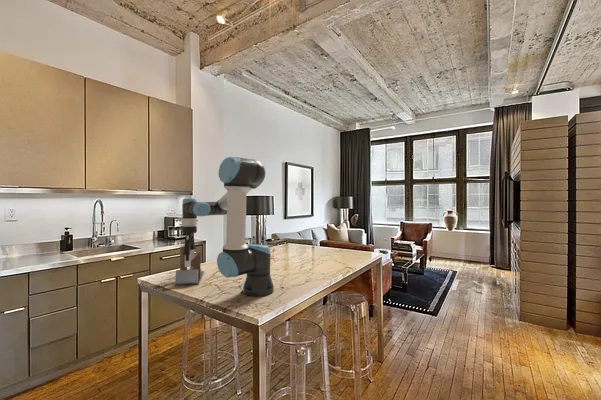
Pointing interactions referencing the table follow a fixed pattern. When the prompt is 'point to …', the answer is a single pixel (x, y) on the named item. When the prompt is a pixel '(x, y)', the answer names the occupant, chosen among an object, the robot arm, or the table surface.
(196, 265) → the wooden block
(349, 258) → the table surface
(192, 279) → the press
